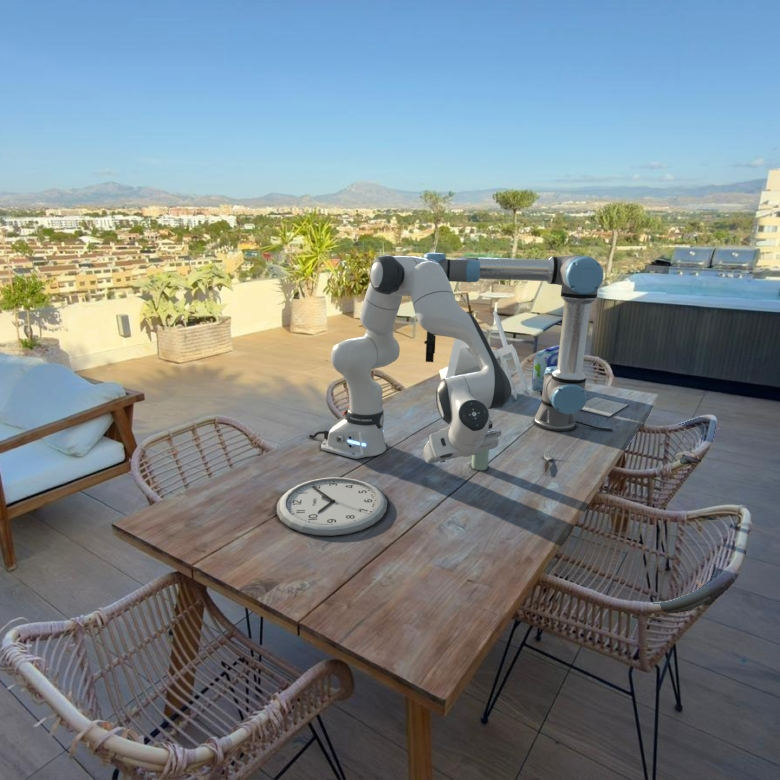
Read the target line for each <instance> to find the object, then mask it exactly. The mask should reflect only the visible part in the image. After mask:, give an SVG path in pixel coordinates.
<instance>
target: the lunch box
mask: <svg viewBox="0 0 780 780" xmlns="http://www.w3.org/2000/svg"><path fill="white" fill-rule="evenodd" d="M559 346H560V344H559V345H553V346H550V347H546V348H545V349H542V350H539V351H538V352H537V353H536V354H535V356H534V358H533V365H532V376H531V377H532V378H531V390H532V391H533V392H537V393H542V392H543V382H544V373H545V369H546V368H547V367H553V366H557V364H558V355H559Z"/></svg>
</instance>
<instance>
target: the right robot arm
mask: <svg viewBox="0 0 780 780" xmlns="http://www.w3.org/2000/svg"><path fill="white" fill-rule="evenodd" d="M423 258H424V259H432V260H434V261H436V262H438V263H440V265H441V266H442V268H443V270H444V272H445V274H446V276H447V278H448V280H449V282H452V283H453V282H457V283H468V284H470V283H477V282H479V281H480V280H495V281H497V280H499V281H500V280H501V281H526V282H527V281H531V282H546V283H547V284H548V285H557V286H561V289H560V298H561V299H562V300H563V303H564V305H563V313H562V322H561V330H560V339H559V355H558V364H557V366H553V367H547V368H546V369H545V373H544V382H543V392H542V394H541V402H540V405H539V406H538V410H537V411H536V413H535V416H534V424H535V425H536V426H537V427H539V428H542V429H544V430H549V431H556V432H567V431H572V430H574V429H575V428H576V424H578V425H581V426H584V427H588V428H592V429H595V430H599V431H608V432H613V428H607V427H599V426H595V425H592V424H588V423H585V422H581V421H579V420H578V421H577V420H576V418H575V417H576V416H575V414H576V413H579V412H580V411H582V410H581V409H582V408H583V407H584V406H585V404H586V401H588V397H587V392H586V389H585V388H586V383H587V382H586V381H587V375H586V374H585V373H584V371H583V369H584V361H585V355H586V347H587V339H588V338H587V337H588V330H589V324H590V318H591V317H590V316H591V308H592V303H593V302H594V301H596V300H597V298H598V294H599V293H598V291H599V288H601V285H602V284H603V281H604V269H603V267H602V265H601V264H600V262H599V261H597V260H596V259H595V258H594V257H592V256H587V255H581V254H574V255H573V254H572V255H565V256H551V257H549V258H548V259H545V258H544V259H543V258H542V259H541V258H540V259H539V258H501V257H500V258H497V257H496V258H495V257H494V258H492V257H466V256H460V257H457V258H455V259H451V258H449V259H448V258H447V257H446V253H444V252H427V253H425V254H424V255H423ZM436 336H437V335H435V334H432V333H430V332H428V331H426V340H424V342H423V343H424V344H425V362H426V363H434V359H435V357H434V356H435V353H436V338H437V337H436Z"/></svg>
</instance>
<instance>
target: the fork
mask: <svg viewBox="0 0 780 780" xmlns="http://www.w3.org/2000/svg"><path fill="white" fill-rule="evenodd" d="M553 451H554V450H553V448H552V451H551V449H549V451H547V450H545V452H544V455H543V459H545V460H546V461H545V463H544V473H547V470H548V468H549V461H551V460H553Z"/></svg>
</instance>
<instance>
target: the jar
mask: <svg viewBox="0 0 780 780" xmlns="http://www.w3.org/2000/svg"><path fill="white" fill-rule="evenodd" d="M489 453H490V450H485V451H481V452H478V454H476V455H471V464H470V465H471V466H470V467H471V468H472V469H473V470H476V471H486V470H488V467H489Z"/></svg>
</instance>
